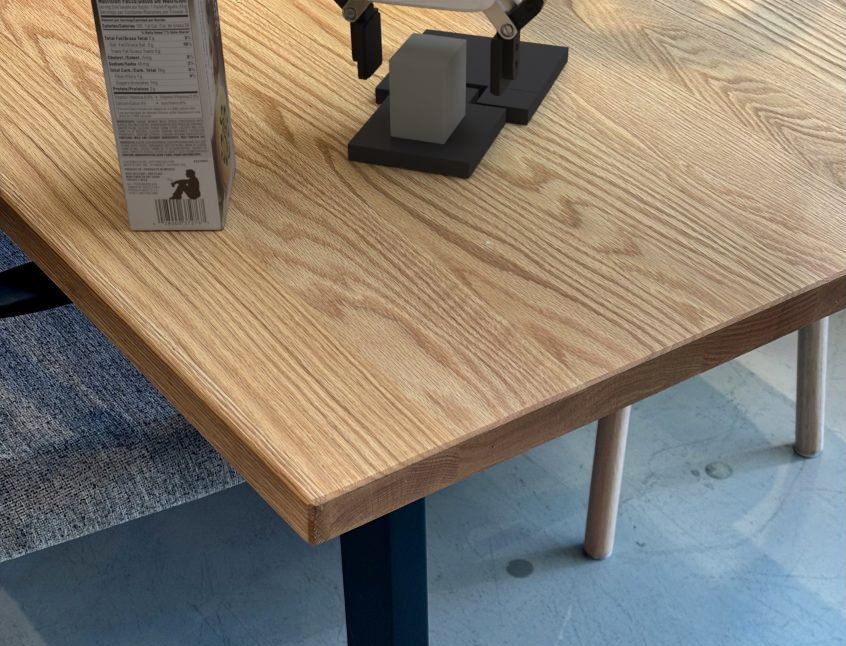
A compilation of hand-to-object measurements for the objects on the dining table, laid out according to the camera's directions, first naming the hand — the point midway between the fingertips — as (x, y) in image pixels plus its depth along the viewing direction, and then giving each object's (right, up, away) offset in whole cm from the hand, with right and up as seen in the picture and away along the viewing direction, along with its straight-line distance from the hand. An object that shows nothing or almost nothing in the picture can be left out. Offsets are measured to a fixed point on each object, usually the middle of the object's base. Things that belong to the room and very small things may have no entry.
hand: (435, 80), depth 93 cm
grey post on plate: (0, -3, +4) cm, 5 cm away
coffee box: (-17, -9, -3) cm, 19 cm away
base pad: (+3, +3, +11) cm, 12 cm away
